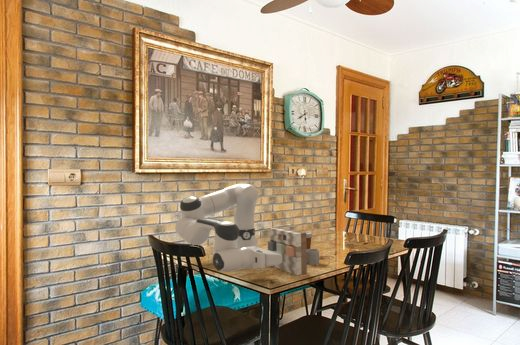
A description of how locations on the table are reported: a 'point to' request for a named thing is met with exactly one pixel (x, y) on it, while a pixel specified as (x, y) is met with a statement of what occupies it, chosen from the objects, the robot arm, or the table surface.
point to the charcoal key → (272, 246)
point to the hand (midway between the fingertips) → (279, 253)
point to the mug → (312, 256)
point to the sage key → (281, 248)
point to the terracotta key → (290, 251)
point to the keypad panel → (298, 240)
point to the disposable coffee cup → (308, 239)
